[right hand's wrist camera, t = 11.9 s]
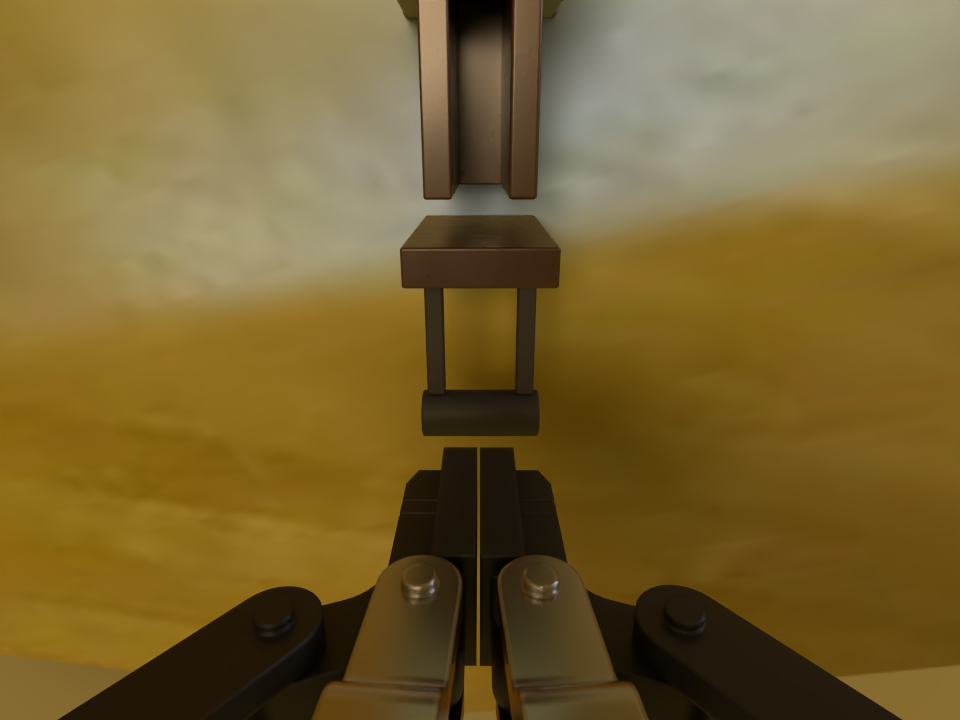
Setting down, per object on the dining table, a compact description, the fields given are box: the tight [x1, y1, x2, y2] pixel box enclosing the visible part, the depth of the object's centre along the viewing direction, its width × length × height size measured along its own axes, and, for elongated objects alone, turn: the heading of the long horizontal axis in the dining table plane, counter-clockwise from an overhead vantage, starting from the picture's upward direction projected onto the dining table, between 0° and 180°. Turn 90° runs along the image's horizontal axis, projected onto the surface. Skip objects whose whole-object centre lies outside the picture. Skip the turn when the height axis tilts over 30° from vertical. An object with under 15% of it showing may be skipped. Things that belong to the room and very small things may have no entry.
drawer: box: [400, 0, 561, 436], centre depth 18 cm, size 26×5×8 cm, turn 0°
